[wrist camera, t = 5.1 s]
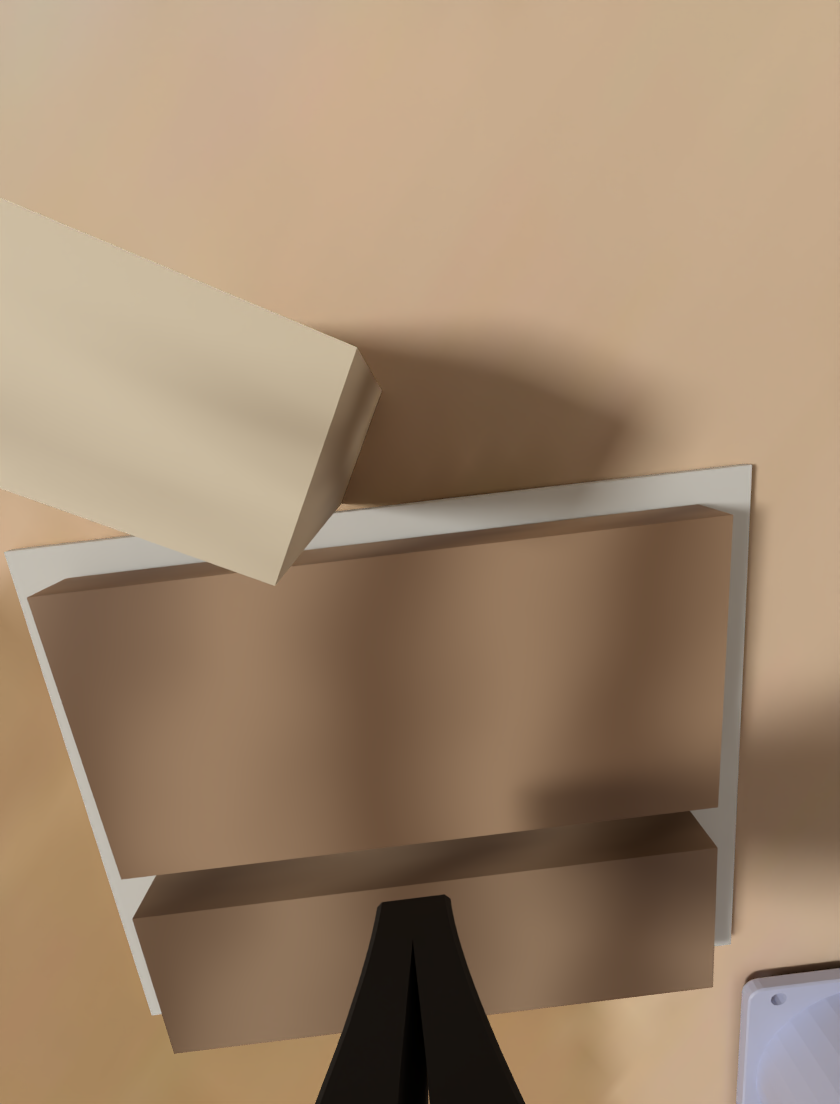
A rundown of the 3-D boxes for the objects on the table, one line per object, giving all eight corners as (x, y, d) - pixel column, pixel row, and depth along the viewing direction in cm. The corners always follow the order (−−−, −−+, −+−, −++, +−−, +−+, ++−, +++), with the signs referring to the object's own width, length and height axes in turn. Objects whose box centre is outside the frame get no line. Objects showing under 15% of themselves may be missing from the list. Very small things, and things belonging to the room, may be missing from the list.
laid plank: (687, 807, 15) (717, 847, 14) (685, 937, 17) (712, 987, 15) (158, 872, 15) (132, 918, 14) (194, 997, 16) (174, 1053, 15)
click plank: (698, 504, 13) (733, 514, 12) (689, 771, 15) (718, 807, 14) (66, 578, 13) (26, 597, 11) (146, 837, 15) (121, 879, 14)
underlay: (744, 463, 13) (752, 464, 13) (724, 935, 17) (730, 944, 17) (12, 549, 13) (3, 552, 13) (156, 1005, 17) (151, 1015, 17)
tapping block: (188, 445, 13) (223, 325, 12) (341, 503, 13) (381, 390, 13) (-59, 467, 6) (-9, 193, 5) (274, 585, 6) (356, 348, 6)
